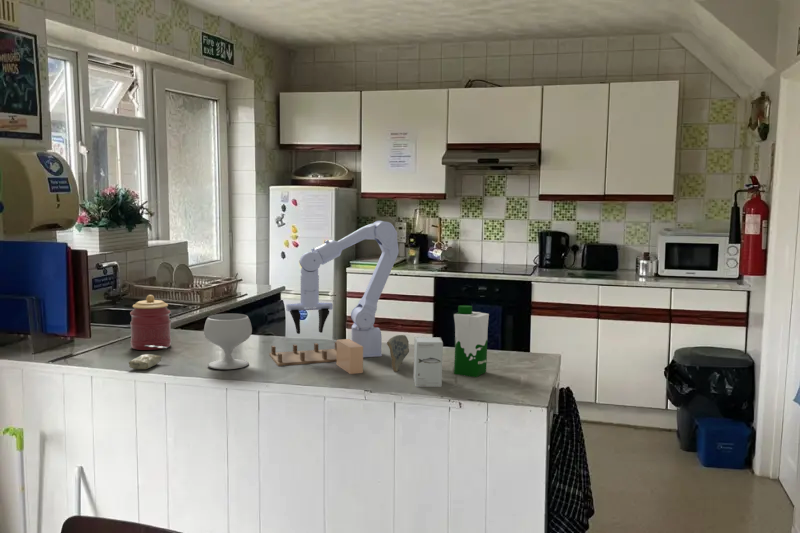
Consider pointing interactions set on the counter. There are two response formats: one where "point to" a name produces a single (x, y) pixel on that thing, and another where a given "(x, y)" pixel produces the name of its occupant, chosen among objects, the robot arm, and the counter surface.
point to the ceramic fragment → (398, 350)
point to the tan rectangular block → (349, 356)
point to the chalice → (227, 337)
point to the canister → (150, 324)
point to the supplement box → (428, 361)
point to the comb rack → (303, 356)
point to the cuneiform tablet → (145, 360)
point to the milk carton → (470, 342)
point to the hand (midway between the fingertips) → (309, 332)
